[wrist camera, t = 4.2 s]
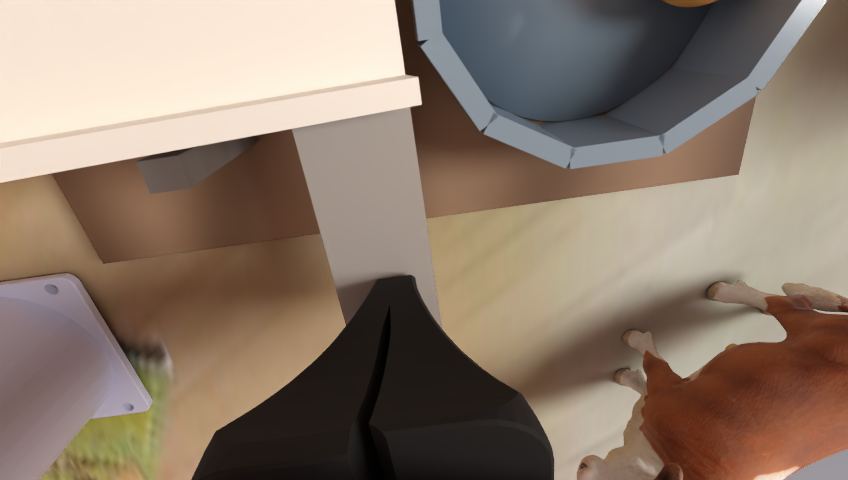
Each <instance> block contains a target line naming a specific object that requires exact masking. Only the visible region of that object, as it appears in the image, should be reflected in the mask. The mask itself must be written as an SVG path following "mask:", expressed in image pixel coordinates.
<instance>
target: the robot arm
mask: <svg viewBox="0 0 848 480" xmlns="http://www.w3.org/2000/svg"><path fill="white" fill-rule="evenodd" d="M53 285H54V286H56V287H57V288H58V289H57V288H55V287H54V286H53ZM152 403H153V401H152V398H151V397H150V395H149V393H148V392H147V390H146V388H145V387H144V385H143V383H142V382H141V380H140V379H139V377H138V375H137V374H136V372H135V370H134V369H133V367H132V365H131V364H130V362H129V360H128V359H127V357H126V355H125V354H124V352H123V351H122V349H121V347H120V346H119V344H118V342H117V341H116V339H115V337H114V336H113V334H112V332H111V331H110V329H109V327H108V326H107V324H106V323H105V321H104V319H103V318H102V316H101V314H100V313H99V311H98V309H97V308H96V306H95V304H94V303H93V301H92V300H91V298H90V296H89V295H88V293H87V291H86V290H85V288H84V286H83V285H82V283H81V281H80V280H79V279H78V278H77V277H75V276H74V275H71V274H68V273H62V274H55V275H48V276H40V277H33V278H26V279H19V280H12V281H5V282H0V480H40V478H41V477H42V476H43V475H44V474H45V472H46V471H47V470H48V469H49V468H50V466H51V465H52V464H53V463H54V462H55V460H56V459H57V458H58V457H59V456H60V454H61V453H62V452H63V451H64V450H65V448H66V447H67V446H68V445H69V444H70V442H71V441H72V440H73V439H74V438H75V436H76V435H77V434H78V433H79V432H80V430H81V429H82V428H83V427H84V426H85V424H86V423H87V422H88V421H89V420H90V419H94V418H101V417H109V416H117V415H124V414H132V413H139V412H145V411H147V410H148V409H149V408H150V406H151V405H152ZM191 480H554V457H553V451H552V447H551V445H550V442H549V440H548V438H547V436H546V434H545V431H544V429H543V428H542V426H541V424H540V422H539V420H538V419H537V417H536V415H535V414H534V412H533V410H532V409H531V407H530V406H529V404H528V403H527V401H526V400H525V398H524V397H523V395H522V394H521V393H519V392H518V391H516V390H514V389H513V388H511V387H509V386H507V385H506V384H504V383H502V382H501V381H499V380H497V379H496V378H494V377H493V376H492V375H490V374H489V373H488V372H486V371H485V370H483V369H482V368H481V367H480V366H479V365H477V364H476V363H475V362H474V361H473V360H472V359H470V358H469V357H468V356H467V355H466V354H464V353H463V352H462V351H461V350H460V349H459V348H458V347H457V346H456V345H455V344H454V342H453V341H452V340H451V339H450V338H449V337H448V336H447V335H446V333H445V332H444V331H443V330H442V328H441V327H440V326H439V324H438V323H437V322H436V320H435V319H434V318H433V316H432V315H431V313H430V311H429V310H428V308H427V306H426V305H425V303H424V301H423V299H422V297H421V295H420V293H419V291H418V288H417V284H416V278H415V277H414V276H412V275H405V276H398V277H391V278H383V279H378V280H377V281H376V283H375V284H374V286H373V287H372V289H371V291H370V292H369V294H368V295H367V297H366V298H365V300H364V302H363V303H362V305H361V306H360V308H359V309H358V310H357V312H356V313H355V315H354V316H353V318H352V319H351V320H350V322H349V323H348V324H347V325H346V327H345V328H344V329H343V331H342V332H341V333H340V334H339V336H338V337H337V338H336V339H335V340H334V342H333V343H332V344H331V345H330V346H329V347H328V348H327V349H326V350H325V351H324V352H323V353H322V354H321V355H320V356H319V357H318V358H317V359H316V360H315V361H314V362H313V363H312V364H311V365H310V366H308V367H307V368H306V369H305V370H304V371H303V372H301V373H300V374H299V375H298V376H297V377H296V378H294V379H293V380H292V381H291V382H290V383H288V384H287V385H286V386H285V387H283V388H282V389H281V390H279V391H278V392H277V393H275V394H274V395H272V396H271V397H270V398H268V399H267V400H265V401H264V402H263V403H261V404H260V405H258V406H257V407H255V408H254V409H252V410H250V411H249V412H247V413H245V414H244V415H242V416H241V417H239V418H237V419H236V420H234V421H232V422H231V423H229V424H227V425H226V426H224V427H222V428H221V429H219V430H217V431H216V432H215V434H214V436H213V437H212V439H211V441H210V443H209V445H208V446H207V448H206V450H205V452H204V454H203V456H202V458H201V461H200V463H199V465H198V467H197V469H196V471H195V473H194V475H193V477H192V479H191Z"/></svg>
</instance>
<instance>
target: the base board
mask: <svg viewBox="0 0 848 480" xmlns="http://www.w3.org/2000/svg"><path fill="white" fill-rule="evenodd" d="M395 6H396V13H397V20H398V27H399V34H400V41H401V48H402V55H403V62H404V69H405V75H410V76H416V77H418V79H419V86H420V94H421V101H422V105H418V106H412V107H410V110H411V117H412V124H413V131H414V138H415V145H416V152H417V159H418V166H419V173H420V180H421V186H422V193H423V200H424V207H425V214H426V218H432V217H439V216H447V215H454V214H461V213H468V212H475V211H482V210H489V209H496V208H503V207H511V206H518V205H525V204H532V203H539V202H546V201H553V200H560V199H567V198H575V197H582V196H589V195H596V194H603V193H610V192H617V191H624V190H631V189H639V188H646V187H653V186H660V185H667V184H674V183H681V182H688V181H695V180H703V179H710V178H717V177H724V176H731V175H738V174H739V170H740V166H741V161H742V157H743V152H744V147H745V143H746V138H747V134H748V129H749V125H750V120H751V116H752V111H753V107H754V102H755V98H756V96H755V97H753V98H752V99H750V100H749V101H747V102H746V103H744V104H743V105H741V106H740V107H738V108H736V109H735V110H733V111H732V112H730V113H729V114H727V115H726V116H724V117H723V118H721V119H720V120H718V121H717V122H715V123H714V124H712V125H711V126H709V127H708V128H706V129H704V130H703V131H701V132H700V133H698V134H697V135H695V136H694V137H692V138H691V139H689V140H688V141H686V142H685V143H683V144H682V145H680V146H679V147H677V148H676V149H674V150H672V151H671V152H669V153H668V154H665V153H662V156H659V157H652V158H645V159H638V160H631V161H624V162H617V163H610V164H603V165H596V166H589V167H582V168H575V169H569V168H568V167H566V169H565V168H563V167H561V166H558V165H556V164H553V163H551V162H549V161H546V160H544V159H542V158H539V157H537V156H534V155H532V154H530V153H527V152H525V151H523V150H520V149H518V148H515V147H513V146H511V145H508V144H506V143H504V142H501V141H499V140H496V139H494V138H492V137H489V136H487V135H485V134H483V133H482V132H481V131H479V129H478V128H477V127H476V126H475V125H474V123H473V122H472V121H471V120H470V118H469V117H468V116H467V115H466V113H465V112H464V111H463V110H462V108H461V107H460V105H459V104H458V103H457V101H456V100H455V98H454V97H453V95H452V94H451V93H450V91H449V90H448V88H447V87H446V85H445V84H444V83H443V81H442V80H441V78H440V77H439V76H438V74H437V73H436V71H435V70H434V68H433V67H432V66H431V64H430V63H429V61H428V60H427V58H426V57H425V56H424V54H423V53H422V51H421V50H420V49H419V47H418V46H417V44H418V43H420V42H421V41H415V34H414V27H413V19H412V11H411V3H410V0H395ZM672 64H673V63H672ZM672 64H671V65H672ZM671 65H670V66H669V67H668V68H667V69H666V70H665V71H664V72H666V71H667V70H668V69H670V67H671ZM664 72H663V73H664ZM663 73H662V74H663ZM756 90H757V89H756ZM488 102H489V103H490V104H492V105H495V104H493V103H492V102H490V101H489V100H488ZM495 106H496V105H495ZM497 107H498V106H497ZM499 108H500V107H499ZM614 108H615V107H614ZM612 109H613V108H612ZM612 109H610V110H608V111H605V112H602V113H599V114H596V115H593V116H597V115H603V114H606V113H608V112H609V111H611V110H612ZM515 115H516V114H515ZM517 116H519V115H517ZM520 117H522V116H520ZM522 118H524V119H527V120H529V121H531V122H533V123H536V124H541V123H548V122H555V121H540V120H535V119H530V118H525V117H522ZM52 174H53V176H54V177H55V179H56V181H57V183H58V185H59V186H60V188H61V190H62V192H63V193H64V195H65V197H66V199H67V201H68V202H69V204H70V206H71V208H72V209H73V211H74V213H75V215H76V216H77V218H78V220H79V222H80V224H81V225H82V227H83V229H84V231H85V232H86V234H87V236H88V238H89V239H90V241H91V243H92V245H93V247H94V248H95V250H96V252H97V254H98V255H99V257H100V259H101V261H102V262H103V264H105V263H112V262H120V261H127V260H134V259H141V258H148V257H155V256H162V255H169V254H176V253H184V252H191V251H198V250H205V249H212V248H219V247H226V246H233V245H240V244H248V243H255V242H262V241H269V240H276V239H283V238H290V237H297V236H304V235H312V234H319V233H320V229H319V226H318V222H317V218H316V215H315V211H314V208H313V204H312V200H311V197H310V193H309V189H308V186H307V182H306V179H305V175H304V171H303V168H302V164H301V161H300V157H299V153H298V150H297V146H296V142H295V139H294V135H293V132H292V129H288V130H283V131H277V132H272V133H267V134H261V135H256V136H250V137H245V138H240V139H234V140H229V141H223V142H218V143H213V144H207V145H202V146H196V147H191V148H186V149H180V150H175V151H169V152H164V153H158V154H153V155H148V156H142V157H137V158H131V159H126V160H121V161H115V162H110V163H104V164H99V165H94V166H88V167H83V168H77V169H72V170H67V171H61V172H56V173H52Z"/></svg>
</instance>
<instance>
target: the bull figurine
mask: <svg viewBox="0 0 848 480" xmlns="http://www.w3.org/2000/svg"><path fill="white" fill-rule="evenodd" d="M782 290H783V291H784V293H785V294H786V295H787V296H779V295H774V294H768V293H764V292H760V291H758V290H756V289H754V288H752V287H749V286H748V285H747V284H746V283H745V282H742V281H740V280H738V281H737V283H736V285H730V284H726V283H724V282H717V283H715V284H713V285H712V286H711V287H710V288H709V290H708V292H707V295H708V298H709V300H713V301H720V302H724V303H738V304H746V305H751V306H755V307H757V308H760V309H762V311H763V312H764V314H766V315H772V316H774V317H775V318H776V319H777V320H778V321H779V322H780V324H781V325H782V326H783V328H784V329H785V330H786V332H787V337H786V339H785V340H783V341H782V342H778V343H765V342H757V343H746V344H740V345H736V344H730V345H728V346H727V347H726V348H725V351H723V352H721V353H719V354H718V355H717V356H716V357H714V358H713V359H712V360H711V361H709V362H708V363H707V364H706V365H704V366H703V367H702V368H700V369H699V370H698V371H696V372H694V373H693V374H691V375H690V376H689V377H687V378H684V379H682V378H681V377H680V376H679V375H677V374H675V373H674V372H673V371H672V370H671V368H670V366H669V365H668V363H667V362H666V361H665V360H664V359H663V358H661V357H660V356H659V354H658V353H657V351H656V348H655V345H654V342H653V336H652V334H651V333H650V332H649V331H647V332H645V333H641V332H639V331H637V330H635V329H634V330H629V331H627V332H626V333H625V334H624V335H623V338H622V341H623V342H624V343H625V344H626V345H628V346H631V347H632V348H634V349H637V350H639V351H640V352H641V353H642V355H643V357H644V360H643V369H644V371H645V373H646V375H647V382H646V380H645V379H644V377H643V374H642V372H641V371H640V370H638V369H637V370H636V371H635V372H634V371H630V370H629V369H622V370H619V371H618V372H617V373H616V375H615V377H614V379H615V381H616V382H617V383H618V384H620V385H624V386H627V387H631V388H632V389H634V390H635V391H637V392H639V393H640V394H641V397H640V399H639V400H638V401H637V402H636V403H635V405H634V407H633V411H632V417H631V419H630V420H629V421H628V424H627V427H626V429H625V431H624V446H622V447H619V448H615V449H613V450H611V451H610V452H609V453H608V455H607V457H606V458H605V459H604V460H603V459H601V458H600V457H598V456H595V455H590V456H587V457H585V458H583V459H582V461H581V463H580V465H579V468H578V471H577V480H784V479H785V478H786V477H788V476H789V475H791V474H793V473H795V472H796V471H798V470H800V469H802V468H804V467H805V466H807V465H810V464H812V463H814V462H816V461H818V460H821V459H823V458H826V457H828V456H830V455H833V454H835V453H838V452H840V451H843V450H846V449H848V315H839V314H824V313H819V312H817V311H814V310H813V309H817V310H821V311H828V312H848V299H847V298H844V297H842V296H840V295H838V294H835V293H833V292H830V291H828V290H825V289H822V288H817V287H812V286H808V285H805V284H801V283H797V284H794V283H785V284H784V285H782Z"/></svg>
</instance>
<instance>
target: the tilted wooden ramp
mask: <svg viewBox="0 0 848 480" xmlns="http://www.w3.org/2000/svg"><path fill="white" fill-rule="evenodd" d="M418 105H422V101H421V94H420V86H419V79H418V77H416V76H410V75H405V69H404V62H403V55H402V48H401V41H400V34H399V27H398V20H397V13H396V6H395V0H0V183H2V182H7V181H13V180H18V179H23V178H29V177H34V176H40V175H45V174H50V173H56V172H61V171H67V170H72V169H77V168H83V167H88V166H94V165H99V164H104V163H110V162H115V161H121V160H126V159H131V158H137V157H142V156H148V155H153V154H158V153H164V152H169V151H175V150H180V149H186V148H191V147H196V146H202V145H207V144H213V143H218V142H223V141H229V140H234V139H240V138H245V137H250V136H256V135H261V134H267V133H272V132H277V131H283V130H288V129H292V132H293V135H294V139H295V142H296V146H297V150H298V153H299V157H300V161H301V164H302V168H303V171H304V175H305V179H306V182H307V186H308V189H309V193H310V197H311V200H312V204H313V208H314V211H315V215H316V218H317V222H318V226H319V229H320V233H321V236H322V240H323V244H324V247H325V251H326V255H327V258H328V262H329V265H330V269H331V273H332V276H333V280H334V283H335V287H336V291H337V294H338V298H339V302H340V305H341V309H342V312H343V316H344V320H345V323H346V325H347V324H348V323H349V322H350V320H351V319H352V318H353V316H354V315H355V313H356V312H357V310H358V309H359V308H360V306H361V305H362V303H363V302H364V300H365V298H366V297H367V295H368V294H369V292H370V291H371V289H372V287H373V286H374V284H375V283H376V281H377V280H378V279H383V278H391V277H398V276H405V275H412V276H414V277H415V278H416V284H417V288H418V291H419V293H420V295H421V297H422V299H423V301H424V303H425V305H426V306H427V308H428V310H429V311H430V313H431V315H432V316H433V318H434V319H435V320H436V322H437V323H438V324H439V326H440V327H441V328H442V325H441V318H440V311H439V304H438V297H437V290H436V283H435V277H434V270H433V263H432V256H431V249H430V242H429V235H428V228H427V221H426V214H425V207H424V200H423V193H422V186H421V180H420V173H419V166H418V159H417V152H416V145H415V138H414V131H413V124H412V117H411V110H410V107H412V106H418Z"/></svg>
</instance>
